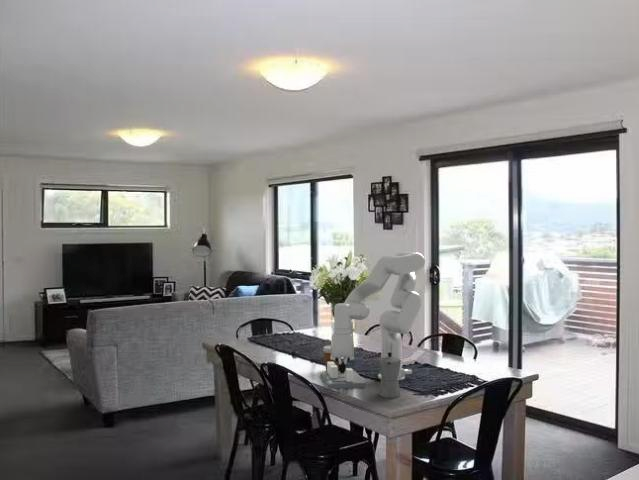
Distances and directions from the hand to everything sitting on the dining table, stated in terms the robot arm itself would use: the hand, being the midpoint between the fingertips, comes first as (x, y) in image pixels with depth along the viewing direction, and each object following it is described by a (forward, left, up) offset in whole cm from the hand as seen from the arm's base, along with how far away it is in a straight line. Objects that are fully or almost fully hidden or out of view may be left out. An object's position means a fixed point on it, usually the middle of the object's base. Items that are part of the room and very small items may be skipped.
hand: (342, 372), depth 270 cm
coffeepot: (-17, +16, -6) cm, 24 cm away
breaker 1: (+3, -14, -4) cm, 15 cm away
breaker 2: (+3, -7, -4) cm, 9 cm away
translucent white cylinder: (-40, -37, -7) cm, 55 cm away
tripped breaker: (-3, 0, -4) cm, 5 cm away
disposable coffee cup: (0, -27, -6) cm, 28 cm away
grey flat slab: (-1, -7, -6) cm, 10 cm away
